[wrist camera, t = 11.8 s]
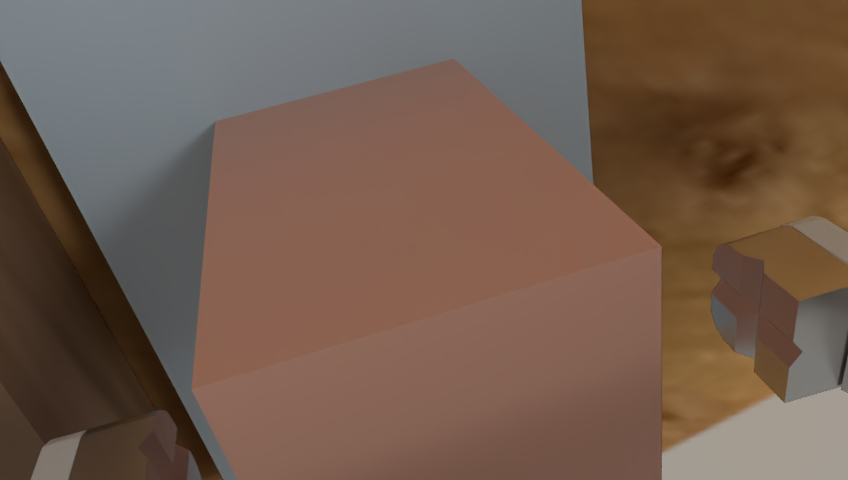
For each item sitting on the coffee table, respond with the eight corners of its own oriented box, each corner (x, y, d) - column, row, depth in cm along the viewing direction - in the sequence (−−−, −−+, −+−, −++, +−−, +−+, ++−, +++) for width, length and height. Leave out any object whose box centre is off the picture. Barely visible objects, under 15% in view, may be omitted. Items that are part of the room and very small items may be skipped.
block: (454, 58, 14) (661, 246, 7) (487, 257, 16) (661, 533, 10) (215, 121, 13) (191, 389, 7) (287, 316, 16) (324, 653, 9)
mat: (545, -262, 12) (564, -269, 12) (592, 352, 20) (605, 369, 19) (-79, -126, 11) (-100, -126, 10) (230, 469, 19) (230, 492, 18)
